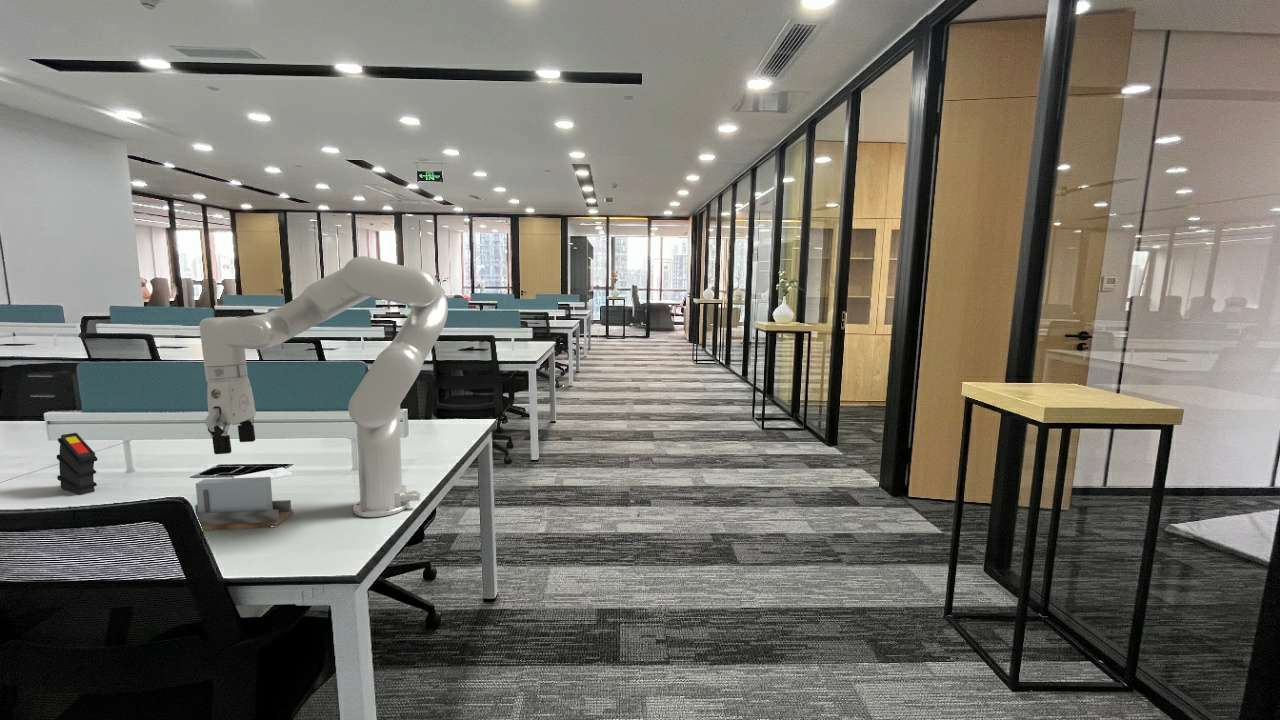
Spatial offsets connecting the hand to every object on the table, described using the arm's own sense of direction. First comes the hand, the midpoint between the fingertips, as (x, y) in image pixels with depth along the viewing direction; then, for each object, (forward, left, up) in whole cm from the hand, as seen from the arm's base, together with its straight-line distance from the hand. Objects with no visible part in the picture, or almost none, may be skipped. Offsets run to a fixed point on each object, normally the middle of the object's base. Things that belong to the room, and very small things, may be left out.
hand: (235, 447), depth 127 cm
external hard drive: (+11, -33, -18) cm, 39 cm away
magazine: (+53, -27, -18) cm, 62 cm away
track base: (+1, 0, -18) cm, 18 cm away
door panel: (+1, 0, -17) cm, 17 cm away
